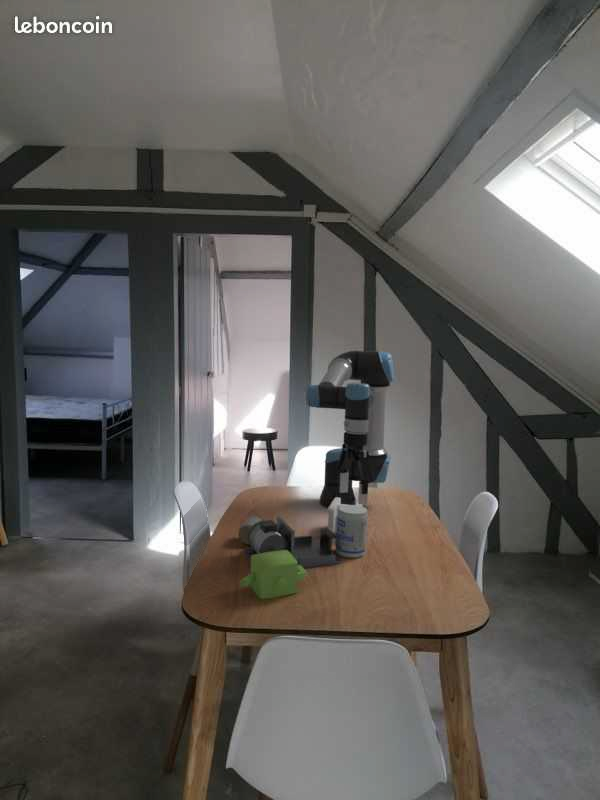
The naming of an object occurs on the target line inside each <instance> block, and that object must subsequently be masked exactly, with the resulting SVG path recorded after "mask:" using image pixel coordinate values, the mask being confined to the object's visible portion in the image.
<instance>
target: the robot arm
mask: <svg viewBox="0 0 600 800" xmlns="http://www.w3.org/2000/svg"><path fill="white" fill-rule="evenodd" d="M393 360H394V359H393V355H392V354H391V353H390V352H387V351H380V350H379V351H377V350H376V351H375V350H374V351H371V350H370V351H368V350H349V351H346V352H342V353H341V354H338V355H337V356H335V357H333V359H332V360H331V361H330V362H329V363H328V366H327V371H326V373H325V374H324V376H323V378H322V379H321V381H320V382H319V384H310V385H308V386H307V389H306V394H305V401H306V405H307V406H308V407H309V408H316V409H319V408H320V409H332V410H333V409H334V410H335V409H336V410H337V409H338V410H344V422H343V425H344V429H343V430H344V433H343V443H342V445H341V447H340V448H334V449H330V450H328V451H327V452H326V453H325V459H324V484H323V488H322V490H321V494H320V496H319V504H320V505H322V506H323V507H325V508H328V507H330V505H331V503H332V501H333V499H335V497H338V498H341V504H346V505H355V504H356V502H357V501H356V500H358V504H363V505H368V497H369V495H368V494H369V493H368V492H369V484H371V483H372V484H383V483H385V482H386V480H387V477H388V471H389V468H390V467H389V466H390V462H391V461H390V460H391V455H389V454H388V450H387V449H386V447H384V443H385V442H384V438H385V419H386V417H385V415H386V413H385V412H386V394H387V393H386V392H387V389H388V388H389V387H390V386H391V383H392V382H394V380H395V375H394V374H395V373H394V372H395V371H394V361H393ZM348 380H351V381H352V380H353V381H360V382H348V383H347V384H346V386H343V385H345V382H346V381H348ZM353 482H358V499H356V494H355V491H354V489H353Z"/></svg>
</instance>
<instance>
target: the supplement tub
mask: <svg viewBox="0 0 600 800" xmlns="http://www.w3.org/2000/svg"><path fill="white" fill-rule="evenodd" d="M367 528H368V509H367V508H365V507H364V506H363V507H361V506H357V505H343V506H340V507H339V510H338V517H337V532H336V533H335V535H336V538H335V551H336V553H337V554H338V555H339V556H342V557H345V558H352V559H353V558H354V559H355V558H360V557H362V556H364V555H365V553H366V540H367V530H368V529H367Z"/></svg>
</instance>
